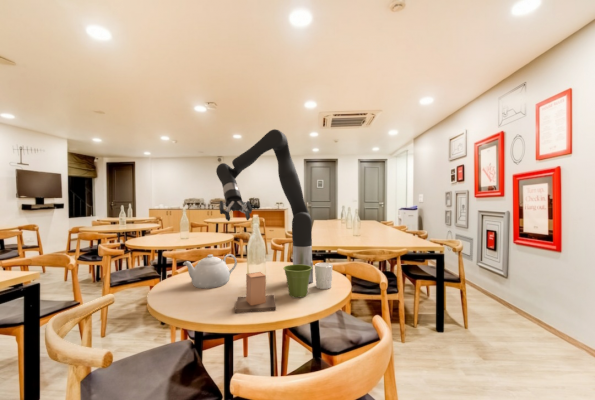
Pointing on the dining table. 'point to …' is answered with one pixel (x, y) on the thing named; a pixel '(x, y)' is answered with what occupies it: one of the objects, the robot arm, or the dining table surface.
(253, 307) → the plate
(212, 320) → the dining table surface
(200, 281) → the teapot
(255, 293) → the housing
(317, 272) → the white cup
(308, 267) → the plant pot
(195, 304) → the dining table surface
